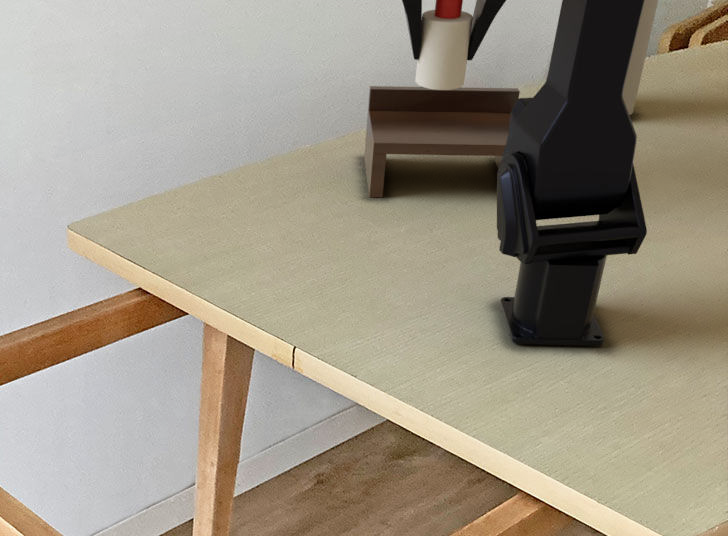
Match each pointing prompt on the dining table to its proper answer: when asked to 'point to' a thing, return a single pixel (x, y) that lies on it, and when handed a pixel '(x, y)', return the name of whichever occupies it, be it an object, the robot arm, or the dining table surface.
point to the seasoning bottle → (444, 46)
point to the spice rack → (434, 125)
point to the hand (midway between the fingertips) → (442, 58)
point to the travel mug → (639, 54)
